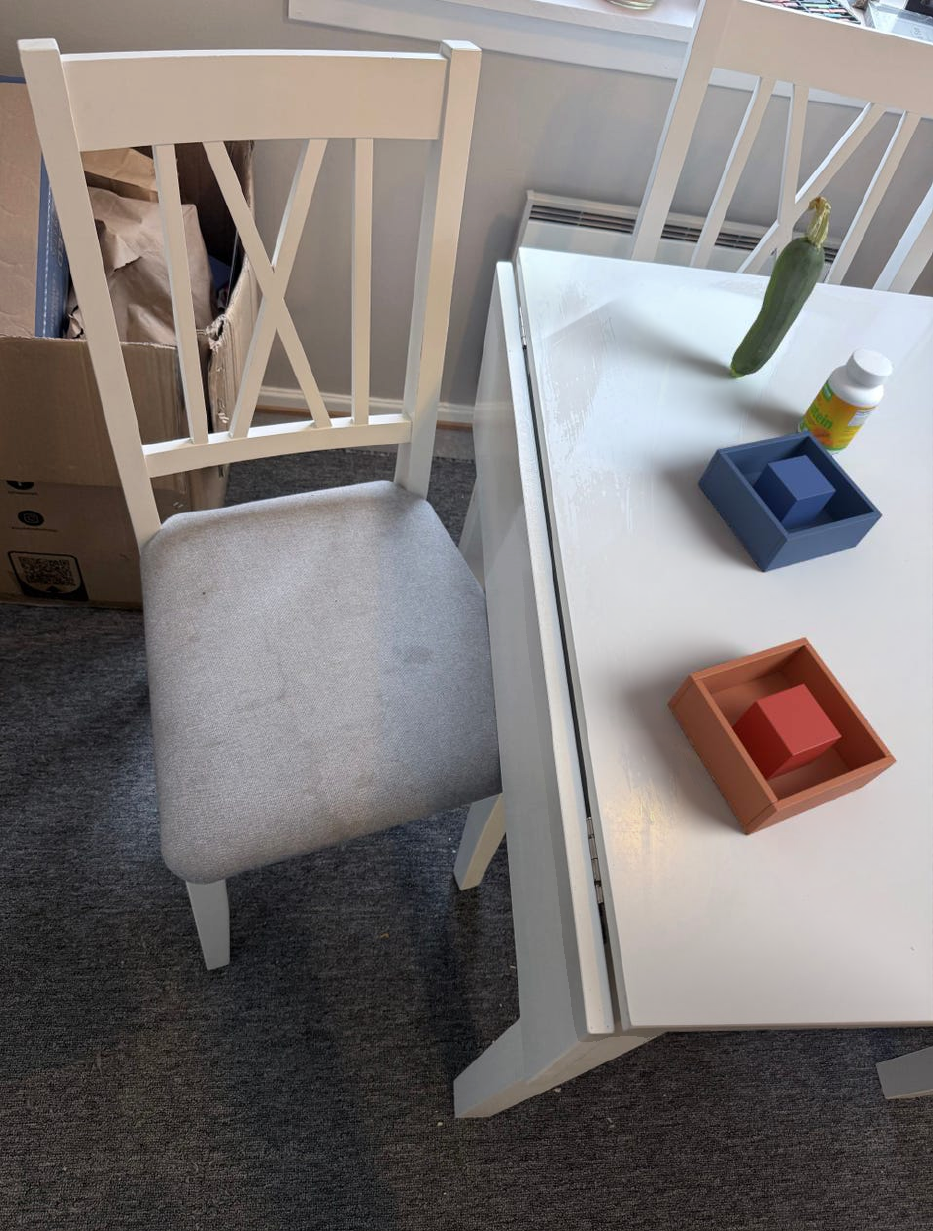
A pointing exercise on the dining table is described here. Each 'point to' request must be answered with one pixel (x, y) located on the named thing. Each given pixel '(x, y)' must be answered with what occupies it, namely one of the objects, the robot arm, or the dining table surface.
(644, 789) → the dining table surface
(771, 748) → the red block
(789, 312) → the vegetable
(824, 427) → the supplement bottle
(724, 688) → the terracotta bin
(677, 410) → the dining table surface
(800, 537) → the blue bin
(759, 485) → the blue block
